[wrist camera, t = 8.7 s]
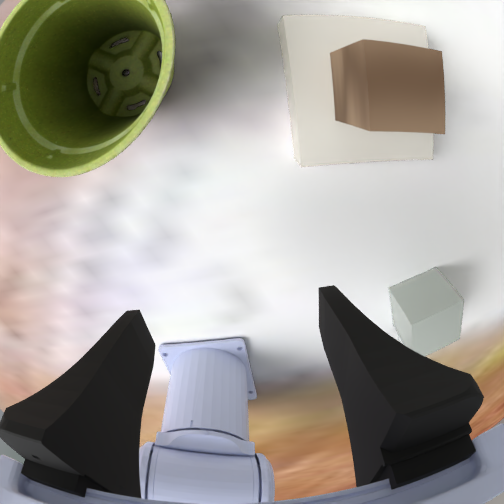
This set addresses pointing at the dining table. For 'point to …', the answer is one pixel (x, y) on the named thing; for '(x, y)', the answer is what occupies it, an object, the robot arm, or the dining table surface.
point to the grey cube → (426, 312)
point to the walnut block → (389, 87)
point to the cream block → (322, 98)
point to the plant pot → (80, 80)
